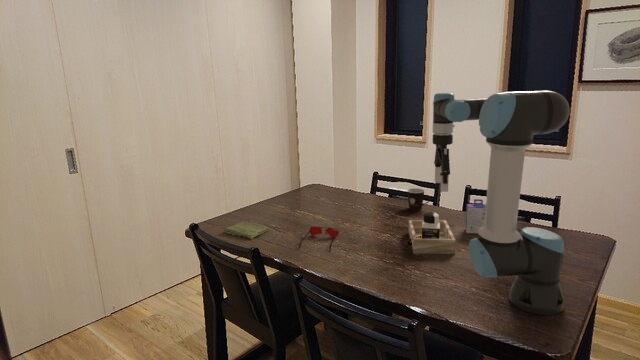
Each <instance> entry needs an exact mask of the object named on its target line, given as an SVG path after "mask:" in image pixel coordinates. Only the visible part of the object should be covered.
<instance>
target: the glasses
mask: <svg viewBox="0 0 640 360" xmlns="http://www.w3.org/2000/svg"><path fill="white" fill-rule="evenodd" d="M323 229H325V230H324V231H325V233H324V234H325V235H326V236H327V234H328V235H329V237H331V238H333V237H334V238H333V240H332V241H331V243H330V244H329V249H328V250H329V251H328V253H331V251H332V250H331V249H332V245H333V243H334V242H335V240H336V238H337V237H338V236H339V234H340V232H339V230H338V229H336V228H334V227H323V226H310V228H309V231H308V232H307V233H306V235H304V237H303V238H302V239H301V241H300V243H299V245H298V248H301V246H302V243H303V242H304V240H305V238H307V236H308V235H309V234H310V236H312V235H314V236H316V235H317V236H318V235H321V234H322V233H323Z"/></svg>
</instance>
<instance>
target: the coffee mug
mask: <svg viewBox="0 0 640 360" xmlns="http://www.w3.org/2000/svg"><path fill="white" fill-rule="evenodd" d="M406 192H407V201H408V202H407V203H408V210H410V211H411V212H420V211H421V212H422V210H423V206H424V205H426V204H428V203H429V202H430V201H431V196H430V195H428V194H425V189H423V188H418V187H417V188H416V187H415V188H409V189H407V191H406ZM425 197H427V198H429V199H428V201H426V202H425V203H424V198H425Z"/></svg>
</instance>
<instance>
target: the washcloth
mask: <svg viewBox="0 0 640 360" xmlns="http://www.w3.org/2000/svg"><path fill="white" fill-rule="evenodd" d="M224 229H225V230H224V233H225V232H226V233H225V234H227V233H228V234H227V235H230V234H233V235H232V236H235V235H238V236H237V237H239V236H243V237H242V238H245V237H247V238H246V239H249V238H250V239H249V240H253V239H254V237H255V238H257V237H258V235H259V236H261V235H262V234H265V232H267V231H269V229H270V228H269V227H268V226H266V225H263V224H259V223H254V222H253V223H252V222H249V221H240V222H237V223H235V224H234V225H231V226H228V227H226V228H224Z"/></svg>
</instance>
